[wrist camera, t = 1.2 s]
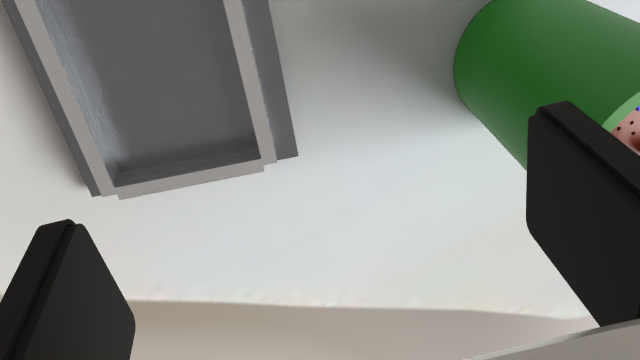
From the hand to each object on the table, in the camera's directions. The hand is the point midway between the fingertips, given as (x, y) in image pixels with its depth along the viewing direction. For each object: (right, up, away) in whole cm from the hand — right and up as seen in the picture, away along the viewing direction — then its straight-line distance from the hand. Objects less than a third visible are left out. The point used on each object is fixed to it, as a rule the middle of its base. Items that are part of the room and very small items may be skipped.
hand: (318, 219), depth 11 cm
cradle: (-10, +10, +24) cm, 28 cm away
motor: (+14, +9, +28) cm, 33 cm away
